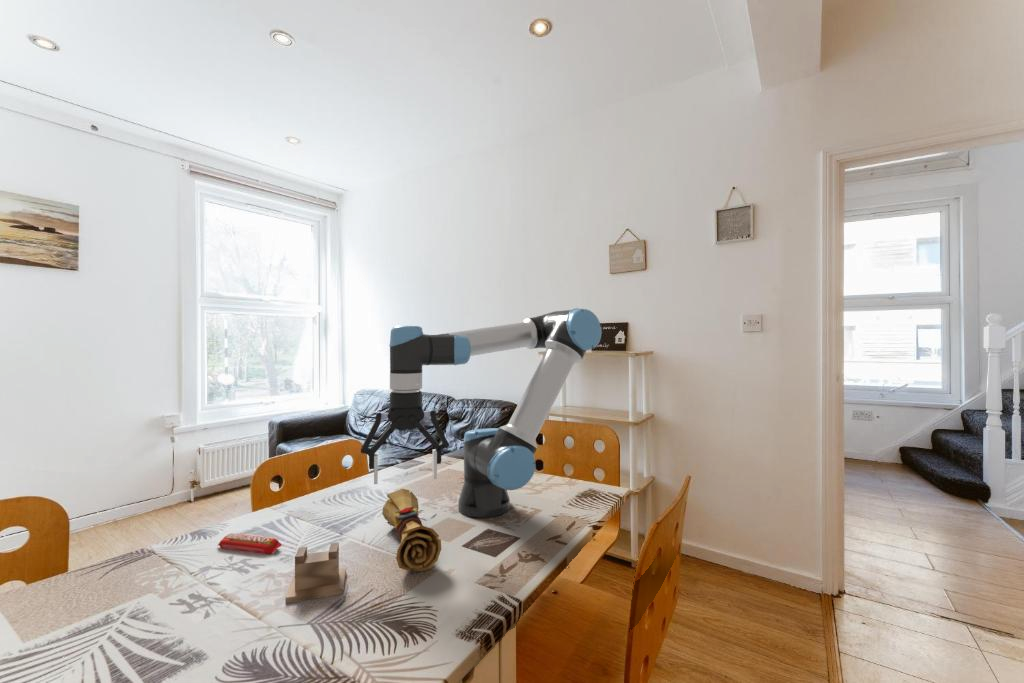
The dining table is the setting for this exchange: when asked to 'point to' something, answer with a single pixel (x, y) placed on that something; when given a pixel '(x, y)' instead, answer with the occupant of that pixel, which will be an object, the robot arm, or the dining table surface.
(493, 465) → the robot arm
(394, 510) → the scroll
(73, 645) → the dining table surface
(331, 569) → the ridge block
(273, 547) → the candy bar
